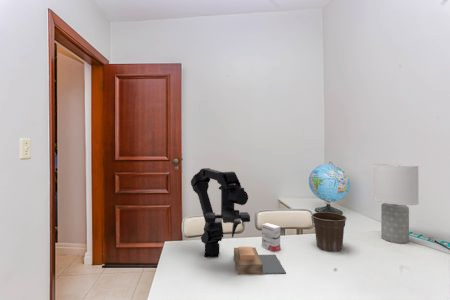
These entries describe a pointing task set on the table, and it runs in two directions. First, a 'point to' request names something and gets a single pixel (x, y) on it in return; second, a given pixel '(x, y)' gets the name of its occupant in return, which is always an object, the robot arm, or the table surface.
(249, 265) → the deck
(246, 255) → the light orange block
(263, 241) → the ink box
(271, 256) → the mat
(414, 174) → the lamp
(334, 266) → the table surface
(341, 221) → the plant pot
